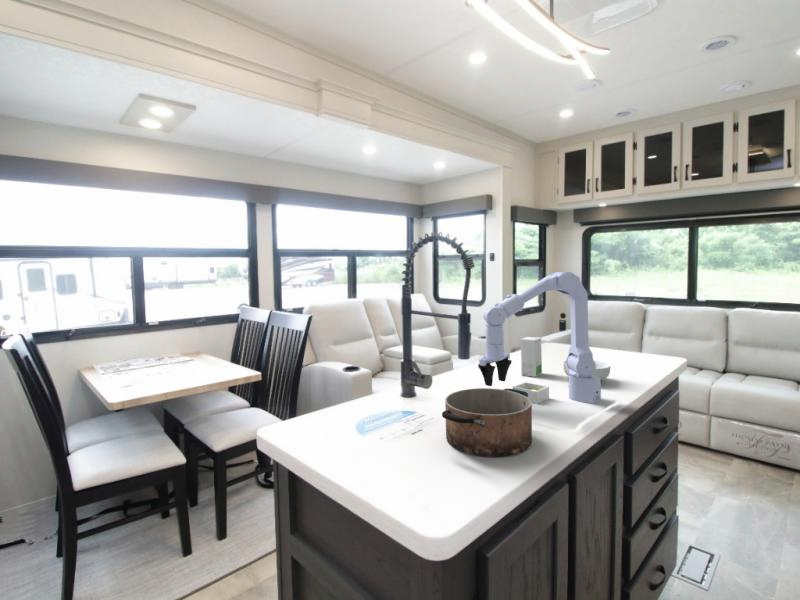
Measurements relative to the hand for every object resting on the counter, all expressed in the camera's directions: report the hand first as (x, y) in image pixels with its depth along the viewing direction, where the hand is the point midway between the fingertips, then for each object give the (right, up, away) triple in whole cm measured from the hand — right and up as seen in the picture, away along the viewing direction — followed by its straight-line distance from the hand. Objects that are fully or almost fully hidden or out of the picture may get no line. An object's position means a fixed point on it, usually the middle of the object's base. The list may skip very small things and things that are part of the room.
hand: (495, 383), depth 138 cm
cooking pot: (-9, -10, -29) cm, 31 cm away
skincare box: (+24, -4, +36) cm, 43 cm away
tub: (+12, -6, +2) cm, 14 cm away
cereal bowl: (+41, -4, +23) cm, 48 cm away
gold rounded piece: (+14, -5, +1) cm, 15 cm away
